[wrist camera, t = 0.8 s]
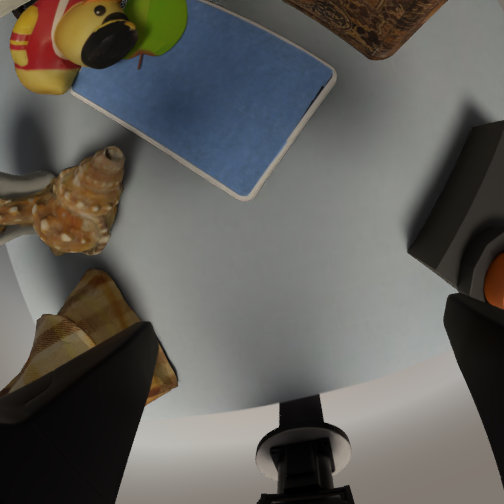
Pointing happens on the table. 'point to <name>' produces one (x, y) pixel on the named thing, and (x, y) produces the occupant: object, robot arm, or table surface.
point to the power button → (495, 282)
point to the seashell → (81, 204)
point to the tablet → (215, 97)
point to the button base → (468, 215)
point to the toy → (68, 41)
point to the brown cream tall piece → (86, 333)
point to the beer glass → (20, 202)
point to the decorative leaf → (156, 25)
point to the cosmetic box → (10, 5)
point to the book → (371, 21)
